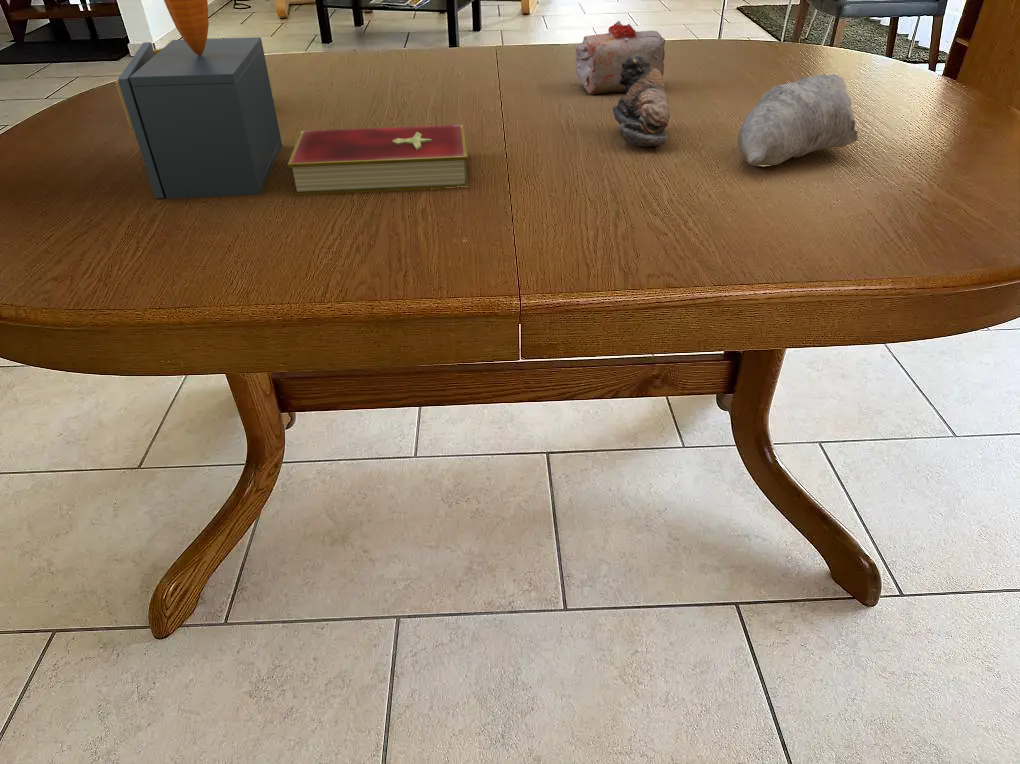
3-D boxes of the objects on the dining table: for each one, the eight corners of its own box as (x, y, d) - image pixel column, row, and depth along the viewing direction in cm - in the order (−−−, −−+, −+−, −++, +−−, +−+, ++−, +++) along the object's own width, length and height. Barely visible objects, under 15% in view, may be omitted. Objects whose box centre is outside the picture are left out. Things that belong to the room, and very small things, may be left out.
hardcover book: (306, 159, 98) (301, 127, 96) (464, 153, 100) (463, 121, 97) (293, 196, 89) (287, 162, 86) (468, 188, 90) (467, 154, 88)
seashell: (742, 181, 91) (758, 98, 85) (717, 140, 103) (729, 64, 97) (873, 180, 91) (898, 97, 85) (833, 139, 103) (852, 63, 97)
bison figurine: (676, 151, 99) (686, 73, 93) (625, 155, 99) (632, 76, 92) (649, 123, 109) (657, 50, 103) (602, 125, 108) (607, 52, 102)
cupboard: (166, 199, 88) (128, 77, 80) (201, 149, 102) (172, 39, 93) (260, 195, 89) (232, 73, 81) (282, 145, 103) (261, 37, 94)
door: (118, 202, 87) (76, 81, 79) (142, 152, 101) (107, 44, 92) (164, 198, 88) (127, 78, 80) (181, 148, 102) (151, 41, 93)
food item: (584, 98, 119) (587, 31, 113) (571, 84, 125) (574, 20, 119) (665, 92, 121) (672, 26, 115) (648, 79, 127) (655, 16, 121)
